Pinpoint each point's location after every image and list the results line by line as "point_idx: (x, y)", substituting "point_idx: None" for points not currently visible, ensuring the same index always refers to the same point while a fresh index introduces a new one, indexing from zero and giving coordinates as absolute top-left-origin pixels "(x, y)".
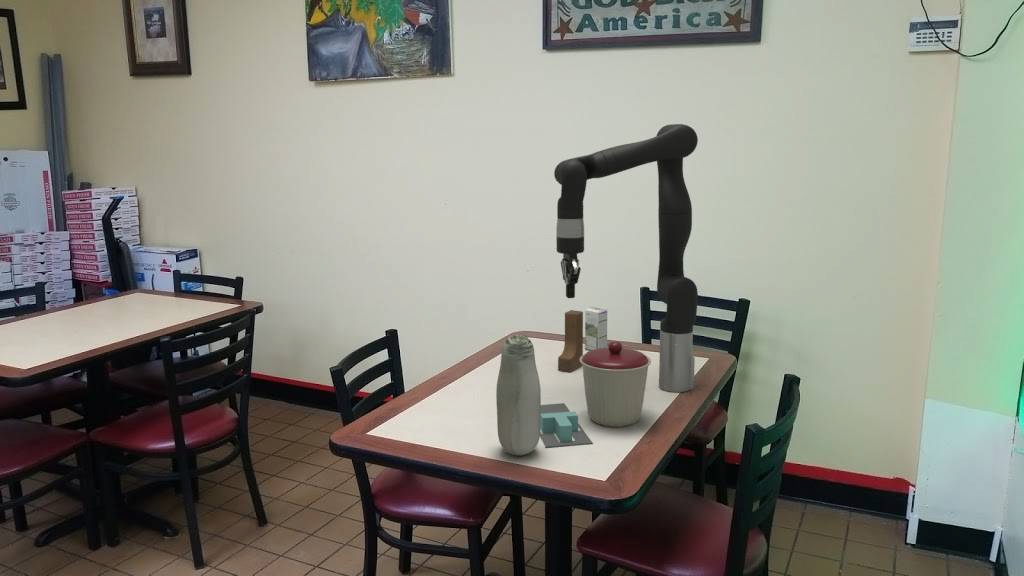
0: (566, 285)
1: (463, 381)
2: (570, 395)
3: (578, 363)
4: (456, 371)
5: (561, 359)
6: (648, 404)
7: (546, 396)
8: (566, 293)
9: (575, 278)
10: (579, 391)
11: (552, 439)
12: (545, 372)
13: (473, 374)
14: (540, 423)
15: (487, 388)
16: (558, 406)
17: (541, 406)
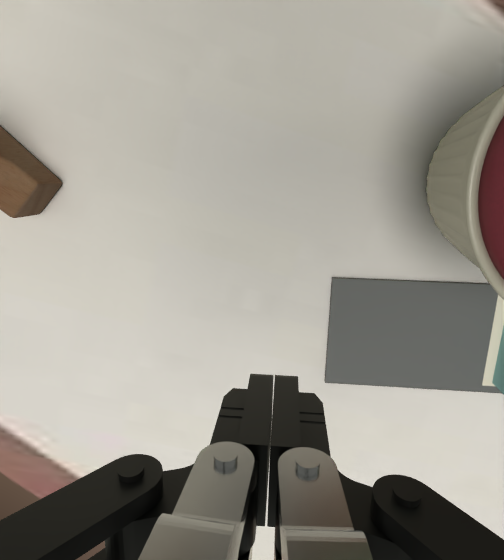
0: (268, 517)
1: (98, 468)
2: (264, 240)
3: (10, 141)
4: (17, 469)
5: (23, 208)
6: (406, 25)
7: (256, 305)
8: (269, 455)
9: (419, 553)
10: (236, 204)
11: None
12: (50, 254)
13: (46, 437)
14: (500, 390)
15: (162, 428)
16: (353, 300)
17: (340, 341)
